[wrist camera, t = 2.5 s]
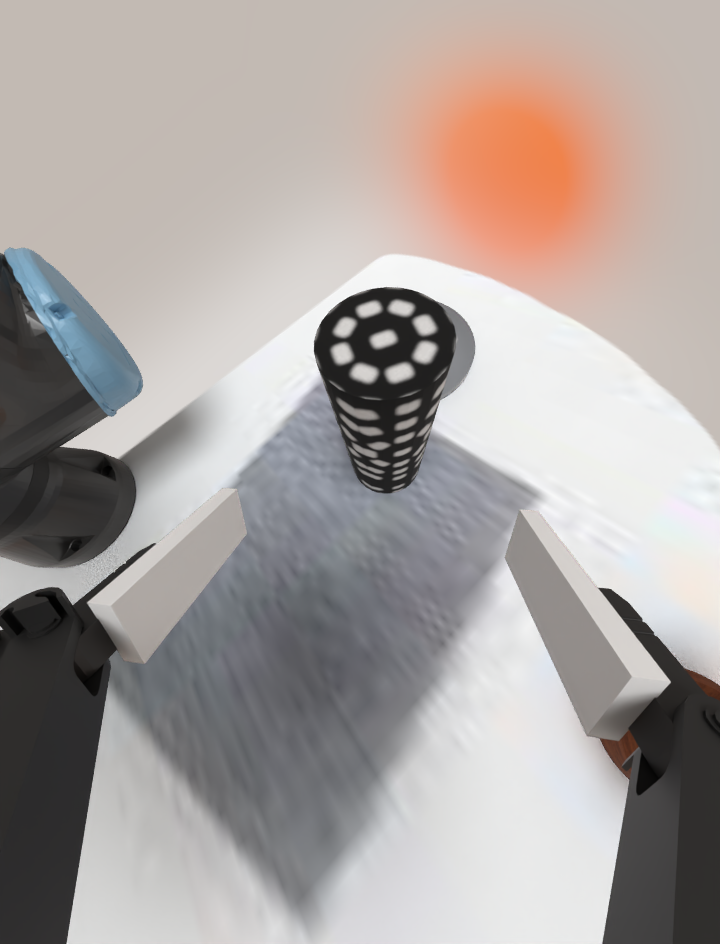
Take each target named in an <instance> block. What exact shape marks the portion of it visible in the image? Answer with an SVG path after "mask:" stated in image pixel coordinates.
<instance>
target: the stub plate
mask: <svg viewBox="0 0 720 944" xmlns="http://www.w3.org/2000/svg"><path fill="white" fill-rule="evenodd" d="M437 303H438V304H439V305H441V306H442V307H443V308H444V310H445V311H446V312H447V313H448V315H449V316H450V318H451V320H452V322H453V324H454V326H455V332H456V337H457V339H456V350H455V353H454V356H453V360H452V363H451V366H450V369H449V373H448V376H447V379H446V382H445V386H444V389H443V392H442V395H441V399H443V398H445V397H446V396H448V395H449V394H451V393H452V392H453V391H455V390H456V389H457V388H458V387H459V386H460V385H461V383H462V382H463V381H464V379H465V378H466V376H467V374H468V372H469V369H470V367H471V365H472V362H473V359H474V355H475V341H474V336H473V333H472V331H471V329H470V327H469V325H468V324H467V322H466V321H465V320H464V319H463V317H462V316H461V315H460V314H458V313H457V312H456V311H455V310H453V309H451V308H450V307H448V306H446V305H444V304H442V303H439V302H437ZM441 399H440V400H441Z"/></svg>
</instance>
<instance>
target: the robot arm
mask: <svg viewBox="0 0 720 944" xmlns="http://www.w3.org/2000/svg"><path fill="white" fill-rule="evenodd" d="M142 387H143V380H142V376H141V373H140V371H139V369H138V367H137V365H136V364H135V362H134V360H133V359H132V357H131V356H130V354H129V353H128V351H127V350H126V349H125V347H124V346H123V344H122V343H121V342H120V340H119V339H118V338H117V337H116V335H115V334H114V333H113V331H112V330H111V329H110V328H109V326H108V325H107V324H106V323H105V322H104V320H103V319H102V318H101V317H100V316H99V314H98V313H97V312H96V311H95V310H94V309H93V307H92V306H91V305H90V304H89V303H88V302H87V301H86V300H85V299H84V298H83V297H82V295H81V294H80V293H79V292H78V291H77V290H76V289H75V288H74V287H73V286H72V285H71V283H69V281H68V280H67V279H66V278H65V277H64V276H63V275H61V273H59V271H57V270H56V269H55V268H54V267H53V266H52V265H50V264H49V263H47V262H46V261H45V260H44V259H43V258H42V257H41V256H40V255H38V254H37V253H35V252H34V251H32V250H29V249H26V248H19V249H13V248H8V249H7V250H6V251H5V252H4V255H3V254H1V253H0V556H1V557H4V558H7V559H10V560H13V561H16V562H19V563H23V564H26V565H29V566H34V567H43V568H63V567H71V566H75V565H79V564H81V563H84V562H86V561H88V560H90V559H92V558H94V557H95V556H97V555H98V554H100V553H101V552H102V551H103V550H105V549H106V548H107V547H108V546H109V545H110V544H111V543H112V542H113V541H114V540H115V539H116V538H117V536H118V535H119V534H120V532H121V531H122V529H123V528H124V526H125V525H126V523H127V521H128V519H129V517H130V514H131V511H132V508H133V505H134V500H135V483H134V479H133V476H132V474H131V472H130V470H129V468H128V467H127V466H126V465H125V464H124V463H123V462H122V461H120V460H118V459H116V458H114V457H111V456H109V455H106V454H104V453H101V452H98V451H94V450H87V449H76V448H65V447H60V446H61V445H63V444H65V443H66V442H68V441H69V440H71V439H73V438H74V437H76V436H77V435H79V434H80V433H82V432H84V431H85V430H87V429H88V428H90V427H91V426H93V425H95V424H96V423H98V422H99V421H100V420H102V419H104V418H106V417H107V416H111V417H112V416H114V415H115V414H116V411H117V410H118V409H120V408H121V407H123V406H124V405H125V404H127V403H128V402H130V401H131V400H132V399H134V398H135V397H137V396H138V395H139V394H140V392H141V390H142ZM246 534H247V531H246V527H245V522H244V518H243V514H242V509H241V505H240V500H239V496H238V491H237V489H229V488H222V489H221V490H220V491H218V492H217V493H216V494H215V495H214V496H212V497H211V498H210V499H209V500H208V501H207V502H205V503H204V504H203V505H202V506H201V507H199V508H198V509H197V510H196V511H195V512H194V513H192V514H191V515H190V516H189V517H188V518H186V519H185V520H184V521H183V522H182V523H181V524H179V525H178V526H177V527H176V528H175V529H173V530H172V531H171V532H170V533H169V534H168V535H166V536H165V537H164V538H163V539H162V540H160V541H159V542H158V543H157V544H156V543H153V544H152V545H150V546H148V547H146V548H144V549H142V550H141V551H139V552H137V553H136V554H135V555H134V556H133V557H131V558H130V559H129V560H128V561H126V564H123V565H122V566H120V567H119V568H118V569H117V570H116V572H115V573H112V574H111V575H109V576H108V577H107V578H106V579H104V580H103V581H102V582H101V583H100V584H98V585H97V586H96V587H95V588H93V589H92V590H91V591H90V592H89V593H87V594H86V595H85V596H84V597H82V598H81V599H80V600H79V601H78V602H76V603H75V604H74V605H72V604H71V602H70V601H69V599H68V598H67V596H66V595H65V594H64V592H63V591H62V590H61V589H59V588H55V587H49V588H44V589H40V590H37V591H34V592H31V593H29V594H26V595H24V596H22V597H21V598H19V599H17V600H15V601H13V602H12V603H10V604H9V605H8V606H6V607H5V608H4V609H2V610H1V611H0V626H1V627H2V629H3V630H0V944H66V942H67V936H68V930H69V924H70V918H71V911H72V905H73V899H74V893H75V886H76V880H77V874H78V868H79V862H80V855H81V849H82V843H83V837H84V831H85V824H86V818H87V812H88V806H89V799H90V793H91V787H92V781H93V775H94V768H95V762H96V756H97V750H98V743H99V737H100V731H101V725H102V719H103V712H104V706H105V700H106V694H107V688H108V681H109V675H110V669H111V665H110V661H109V659H108V658H109V657H110V656H111V655H112V654H113V653H114V652H115V651H116V650H117V651H118V652H119V654H120V656H121V657H122V659H123V660H124V661H129V662H135V663H141V664H145V663H146V662H147V660H148V659H149V658H150V657H151V655H152V654H153V653H154V652H155V650H156V649H157V648H158V646H159V645H160V644H161V643H162V641H163V640H164V639H165V638H166V636H167V635H168V634H169V632H170V631H171V630H172V629H173V627H174V626H175V625H176V624H177V622H178V621H179V620H180V618H181V617H182V616H183V615H184V613H185V612H186V611H187V610H188V608H189V607H190V606H191V604H192V603H193V602H194V601H195V599H196V598H197V597H198V596H199V594H200V593H201V592H202V590H203V589H204V588H205V587H206V585H207V584H208V583H209V581H210V580H211V579H212V578H213V576H214V575H215V574H216V573H217V571H218V570H219V569H220V567H221V566H222V565H223V564H224V562H225V561H226V560H227V559H228V557H229V556H230V555H231V553H232V552H233V551H234V550H235V548H236V547H237V546H238V545H239V543H240V542H241V541H242V539H243V538H244V537H245V536H246ZM505 559H506V561H507V564H508V566H509V568H510V570H511V572H512V574H513V577H514V579H515V581H516V583H517V585H518V587H519V590H520V592H521V594H522V596H523V598H524V601H525V603H526V605H527V607H528V609H529V611H530V614H531V616H532V618H533V620H534V622H535V624H536V627H537V629H538V631H539V633H540V635H541V637H542V640H543V642H544V644H545V646H546V648H547V650H548V653H549V655H550V657H551V659H552V661H553V663H554V666H555V668H556V670H557V672H558V674H559V676H560V679H561V681H562V683H563V685H564V687H565V689H566V692H567V694H568V696H569V698H570V700H571V702H572V705H573V707H574V709H575V711H576V713H577V715H578V718H579V720H580V722H581V724H582V726H583V728H584V731H585V733H586V735H587V736H591V737H597V738H603V739H609V740H615V741H619V740H620V739H621V738H622V737H623V736H624V735H625V733H626V732H627V731H628V730H629V731H630V732H631V734H632V736H633V737H634V739H635V741H636V743H637V744H638V746H639V747H638V748H637V749H636V750H635V751H634V752H633V753H632V754H631V755H630V756H629V757H628V758H627V759H626V760H625V762H624V763H623V765H622V768H623V769H624V770H625V771H628V770H629V769H630V768H631V767H632V769H631V775H630V781H629V787H628V793H627V799H626V805H625V811H624V817H623V823H622V829H621V835H620V841H619V847H618V853H617V859H616V865H615V871H614V877H613V883H612V889H611V895H610V901H609V907H608V913H607V919H606V925H605V931H604V937H603V943H602V944H720V701H719V700H717V699H715V698H713V697H710V696H708V695H707V694H706V693H705V692H704V691H703V690H702V689H701V688H700V686H699V685H698V684H697V683H696V682H695V681H694V679H693V678H692V677H691V676H690V675H689V673H688V672H687V671H686V670H685V669H684V668H683V666H682V665H681V664H680V663H679V662H678V660H677V659H676V658H675V657H674V656H673V655H672V653H671V652H670V651H669V650H668V649H667V647H666V646H665V645H664V644H663V643H662V642H661V640H660V639H659V638H658V637H657V636H655V635H654V632H653V631H652V630H651V629H650V627H649V626H648V625H647V624H646V623H645V622H643V621H642V618H641V617H640V616H639V614H638V613H637V612H636V611H635V610H634V609H633V607H632V606H631V605H630V604H629V603H628V602H627V601H625V600H624V599H623V598H622V597H620V596H619V595H618V594H616V593H615V592H614V591H613V590H611V589H605V588H598V587H597V586H596V585H595V583H594V582H593V581H592V580H591V578H590V577H589V576H588V574H587V573H586V572H585V571H584V569H583V568H582V567H581V565H580V564H579V563H578V561H577V560H576V559H575V558H574V556H573V555H572V554H571V552H570V551H569V550H568V549H567V547H566V546H565V545H564V543H563V542H562V541H561V540H560V538H559V537H558V536H557V534H556V533H555V532H554V531H553V529H552V528H551V527H550V525H549V524H548V523H547V522H546V520H545V519H544V518H543V516H542V515H541V514H540V512H539V511H532V510H519V513H518V516H517V519H516V523H515V526H514V529H513V532H512V536H511V539H510V542H509V546H508V549H507V552H506V555H505Z"/></svg>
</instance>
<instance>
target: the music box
mask: <svg viewBox="0 0 720 944" xmlns="http://www.w3.org/2000/svg"><path fill="white" fill-rule="evenodd" d="M685 670H686V671H687V672H688V673H689V675H690V676H691V677H692V678H693V679H694V681H695V682H696V683H697V684H698V685H699V686H700V688H701V689H702V690H703V691H704V692H705V693H706V694H707V695H708V696H710V697H713V698H715V699H717V700H719V701H720V686H719V685H718V684H716V683H715V682H713V681H711V680H710V679H708V678H706V677H704V676H702V675H700V674H698V673H696V672H693V671H690V670H687V669H685ZM600 739H601V742H602V744H603V746H604V748H605V749H606V751H607V753H608V754H609V756H610V758H611V759H612V760H613V762H614V763H615V764H616V766H617V767H618V768H619V769H620V770H621V771H622V773H623V774H624V775H625V776H626V777H627V778H628V779H630V775H631V769H632V767H631V768H630V769H629V770H628V771H625V770H624V769H623V768H622V765H623V763H624V762H625V760H626V759H627V758H628V757H629V756H630V755H631V754H632V753H633V752H634V751H635V750H636V749H637V748H638V747H639V746H638V744H637V743H636V741H635V739H634V737H633V736H632V734H631V732H630V731H629V730H628V731H627V732H626V733H625V735H624V736H623V737H622V738H621V739H620V740H619V741H615V740H609V739H603V738H600Z"/></svg>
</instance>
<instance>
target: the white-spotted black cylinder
mask: <svg viewBox="0 0 720 944" xmlns="http://www.w3.org/2000/svg"><path fill="white" fill-rule="evenodd" d="M456 339H457V337H456V332H455V326H454V324H453V322H452V320H451V318H450V316H449V315H448V313H447V312H446V311H445V310H444V308H443V307H442V306H441V305H439V304H438V303H437V302H436V301H435V300H433V299H431V298H430V297H428V296H426V295H424V294H422V293H419V292H416V291H413V290H409V289H404V288H393V287H384V288H375V289H370V290H367V291H363V292H360V293H357V294H355V295H353V296H350V297H348V298H347V299H345V300H343V301H342V302H340V303H339V304H337V305H336V306H335V307H334V308H333V309H332V310H330V311H329V313H328V314H327V315H326V316H325V318H324V319H323V320H322V322H321V324H320V326H319V328H318V330H317V333H316V336H315V340H314V354H315V358H316V363H317V365H318V368H319V371H320V374H321V377H322V380H323V383H324V385H325V388H326V391H327V394H328V397H329V400H330V402H331V405H332V408H333V411H334V414H335V417H336V420H337V422H338V425H339V428H340V431H341V434H342V437H343V439H344V442H345V445H346V448H347V451H348V454H349V457H350V459H351V462H352V465H353V468H354V471H355V473H356V475H357V478H358V479H359V480H360V482H361V483H362V484H363V485H364V486H365V487H367V488H369V489H370V490H372V491H375V492H378V493H394V492H398V491H400V490H402V489H404V488H406V487H407V486H408V485H410V484H411V482H412V481H413V480H414V479H415V477H416V475H417V473H418V470H419V467H420V463H421V460H422V457H423V454H424V450H425V447H426V444H427V441H428V437H429V434H430V431H431V428H432V424H433V421H434V418H435V415H436V411H437V408H438V405H439V402H440V399H441V395H442V392H443V389H444V386H445V382H446V379H447V376H448V373H449V369H450V366H451V363H452V360H453V356H454V353H455V350H456Z"/></svg>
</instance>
